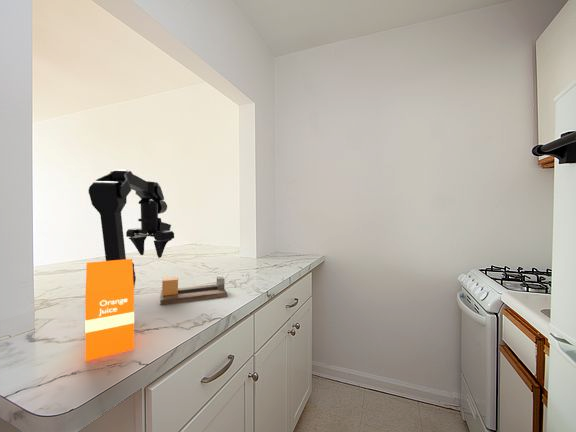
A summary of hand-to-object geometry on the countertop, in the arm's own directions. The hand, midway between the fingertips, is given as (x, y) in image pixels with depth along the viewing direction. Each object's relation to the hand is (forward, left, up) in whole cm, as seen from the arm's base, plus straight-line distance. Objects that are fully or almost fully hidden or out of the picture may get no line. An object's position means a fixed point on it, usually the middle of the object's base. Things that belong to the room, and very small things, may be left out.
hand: (150, 256), depth 100 cm
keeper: (-11, -7, -12) cm, 17 cm away
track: (-11, -15, -14) cm, 23 cm away
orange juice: (-42, +6, -14) cm, 44 cm away
